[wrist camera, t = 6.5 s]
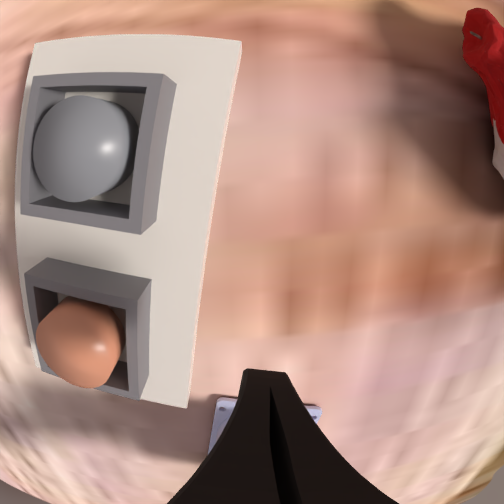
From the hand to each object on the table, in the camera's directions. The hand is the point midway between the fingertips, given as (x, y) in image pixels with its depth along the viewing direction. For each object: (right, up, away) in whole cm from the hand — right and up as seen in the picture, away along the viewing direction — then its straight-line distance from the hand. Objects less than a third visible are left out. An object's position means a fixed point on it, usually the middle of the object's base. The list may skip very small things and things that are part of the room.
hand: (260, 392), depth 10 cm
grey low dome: (-8, +10, +4) cm, 13 cm away
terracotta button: (-10, 0, +6) cm, 11 cm away
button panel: (-9, +6, +8) cm, 13 cm away
